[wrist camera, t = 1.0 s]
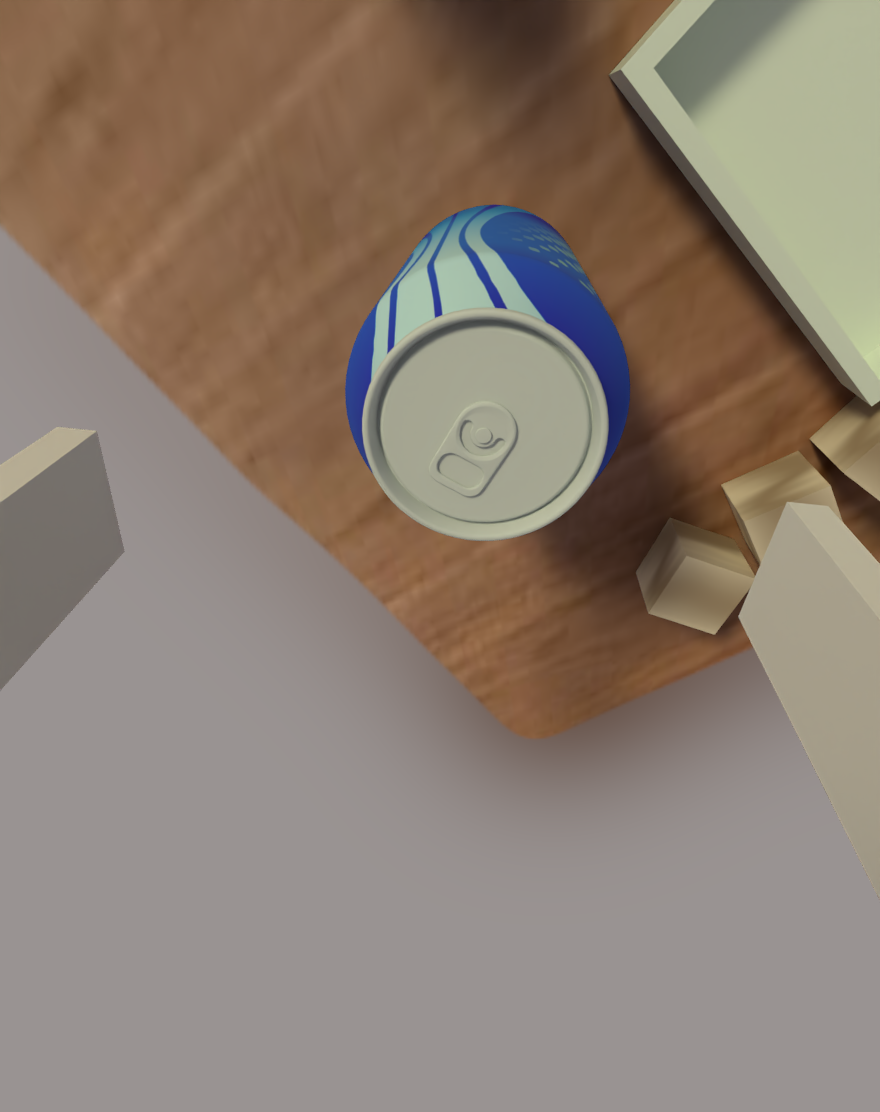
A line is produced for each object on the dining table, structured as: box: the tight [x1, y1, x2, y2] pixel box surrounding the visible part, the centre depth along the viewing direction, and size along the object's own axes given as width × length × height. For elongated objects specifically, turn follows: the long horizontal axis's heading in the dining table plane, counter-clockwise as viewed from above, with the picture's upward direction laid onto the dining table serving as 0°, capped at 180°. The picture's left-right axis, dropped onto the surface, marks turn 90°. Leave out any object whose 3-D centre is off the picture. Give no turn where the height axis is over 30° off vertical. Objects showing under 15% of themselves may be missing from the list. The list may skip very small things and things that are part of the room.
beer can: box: [345, 205, 630, 541], centre depth 24 cm, size 8×8×16 cm
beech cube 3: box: [636, 518, 755, 635], centre depth 36 cm, size 4×4×4 cm
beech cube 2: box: [721, 451, 843, 565], centre depth 33 cm, size 4×4×4 cm
